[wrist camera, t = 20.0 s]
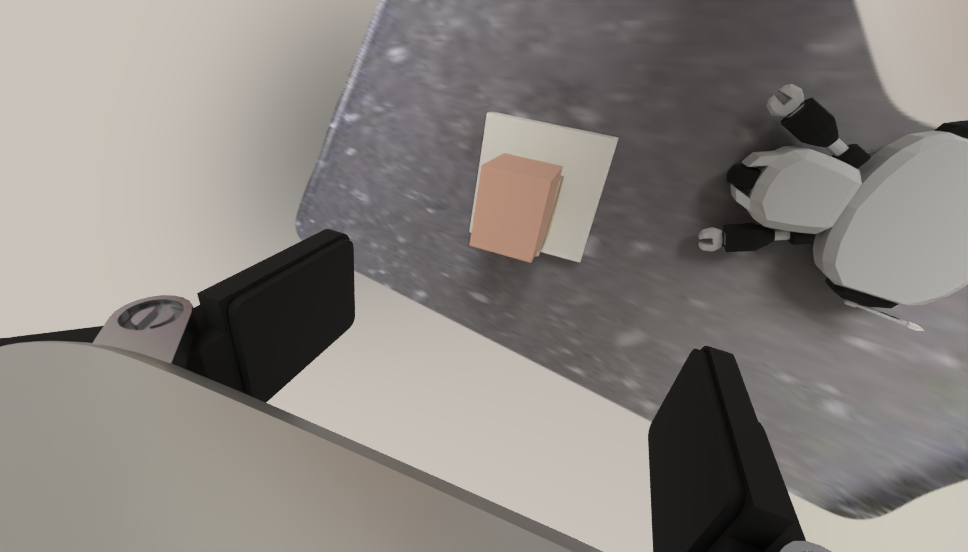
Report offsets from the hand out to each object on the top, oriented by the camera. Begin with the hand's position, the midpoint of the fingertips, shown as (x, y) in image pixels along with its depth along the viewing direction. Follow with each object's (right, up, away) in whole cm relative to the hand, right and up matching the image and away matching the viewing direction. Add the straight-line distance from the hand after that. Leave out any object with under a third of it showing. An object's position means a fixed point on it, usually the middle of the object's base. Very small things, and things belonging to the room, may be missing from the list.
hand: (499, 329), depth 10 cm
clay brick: (+2, +7, +16) cm, 18 cm away
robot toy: (+24, +7, +16) cm, 30 cm away
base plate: (+4, +9, +22) cm, 24 cm away
